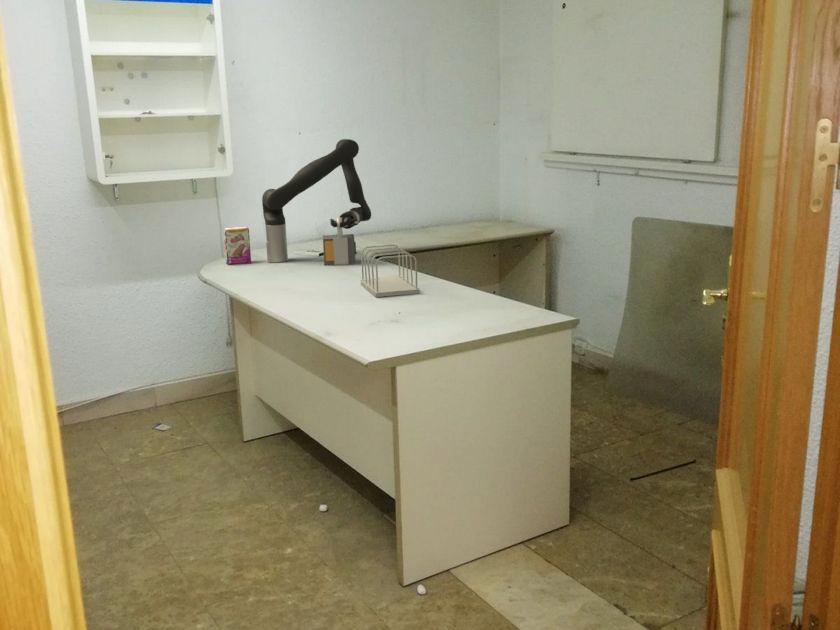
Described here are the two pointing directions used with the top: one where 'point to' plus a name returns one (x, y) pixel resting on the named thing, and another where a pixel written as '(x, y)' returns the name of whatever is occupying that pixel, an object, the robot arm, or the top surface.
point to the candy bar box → (237, 245)
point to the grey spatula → (340, 246)
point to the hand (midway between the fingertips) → (337, 225)
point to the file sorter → (388, 284)
